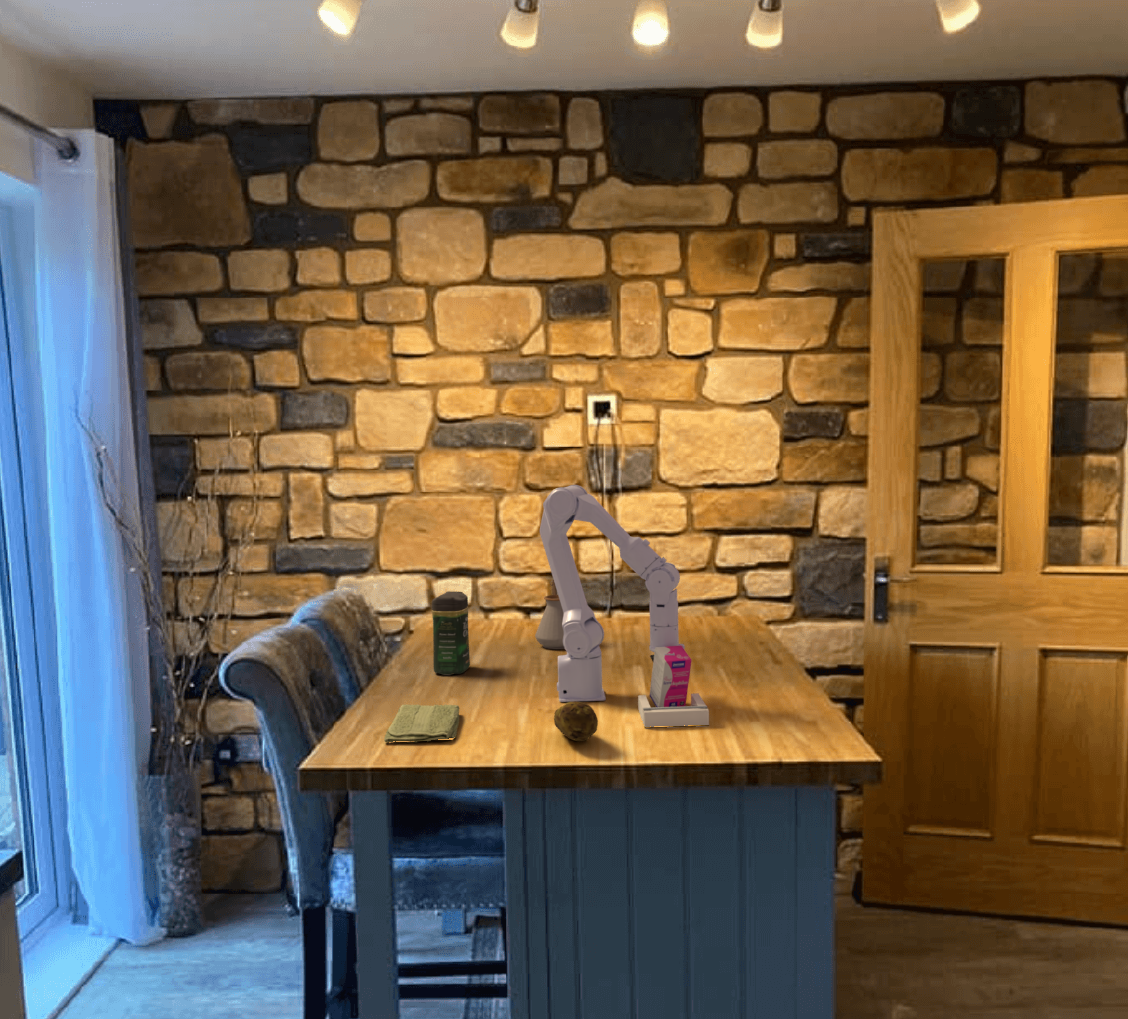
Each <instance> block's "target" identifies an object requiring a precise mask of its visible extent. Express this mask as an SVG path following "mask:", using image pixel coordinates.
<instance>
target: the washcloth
mask: <svg viewBox="0 0 1128 1019" xmlns="http://www.w3.org/2000/svg"><path fill="white" fill-rule="evenodd" d="M459 724H460V706H459V705H458V704H457V705H456V704H440V705H439V704H434V705H426V704H425V705H421V704H401V706H400V707H399V708H398V710H397V713H396V715H395V716H394V719H393V721H392V722H391V724H390V725H389V727H388V728H387V730H386V731H385V735H384V739H383V740H384V743H389V742H393V741H395V742H396V741H415V742H414V743H418V742H417V741H427V742H432V741H431V740H438V739H449V738H454V737H455V738H456V737H457V734H458V729H457V728H459Z"/></svg>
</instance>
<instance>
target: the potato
mask: <svg viewBox="0 0 1128 1019" xmlns="http://www.w3.org/2000/svg"><path fill="white" fill-rule="evenodd" d="M553 715H554V716H553V720H554V721H553V722H554V726H555V727H556V728H557V729H558V730H559V732H560V733H561V734H562V735H564V736H565V737H567V738H568V739H570V740H573V741H576V742H583V741H587V740H589V739H590V738H591V737H592V736H593V735H594V734H595V733H596V732H597V731H598V725H599V720H598V716H597V713H596V712H595V711H594V709H593V708H592V707H591V705H589V704H588V703H587V702H582V701H573V702H565V704H564V705H562V706H560V707H559V708H557V709H555V711H554V714H553Z"/></svg>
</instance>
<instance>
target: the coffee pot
mask: <svg viewBox="0 0 1128 1019" xmlns="http://www.w3.org/2000/svg"><path fill="white" fill-rule="evenodd" d="M551 583H552V584H551ZM549 585H550V586H552V588H551V591H552V594H551V595H545V596H544V597H543V599H544V600H545V604H546V607H545V608H544V609H545V610H544V612H543V615H542V617H541V619H540V622H539V625H538V628H537V630H536V632H535V636H534V637H535V639H536V641H537V642H538V643H539V644H540V645H542V648H545V649H547V650H565V648H564V645H563V636H564V631H563V627H562V622H563V615H564V612H563V609H562V606H561V602H560V599H559V596H558V592H557V589H556V586H555V582H554V579H553V580H551V581H550V582H549Z"/></svg>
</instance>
